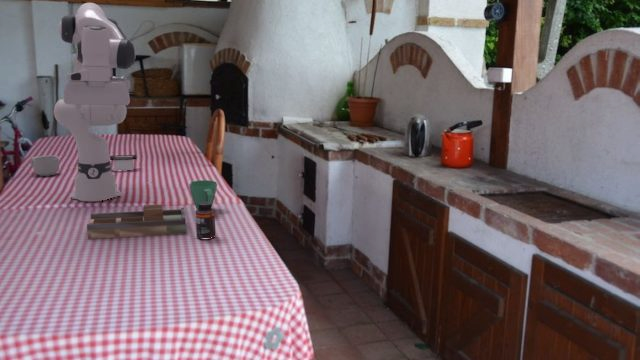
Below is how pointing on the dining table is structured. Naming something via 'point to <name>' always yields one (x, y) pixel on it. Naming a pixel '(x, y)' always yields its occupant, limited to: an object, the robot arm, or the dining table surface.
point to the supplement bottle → (205, 220)
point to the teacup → (45, 165)
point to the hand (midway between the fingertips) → (97, 119)
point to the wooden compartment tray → (135, 224)
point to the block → (153, 212)
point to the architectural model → (123, 162)
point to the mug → (203, 191)
